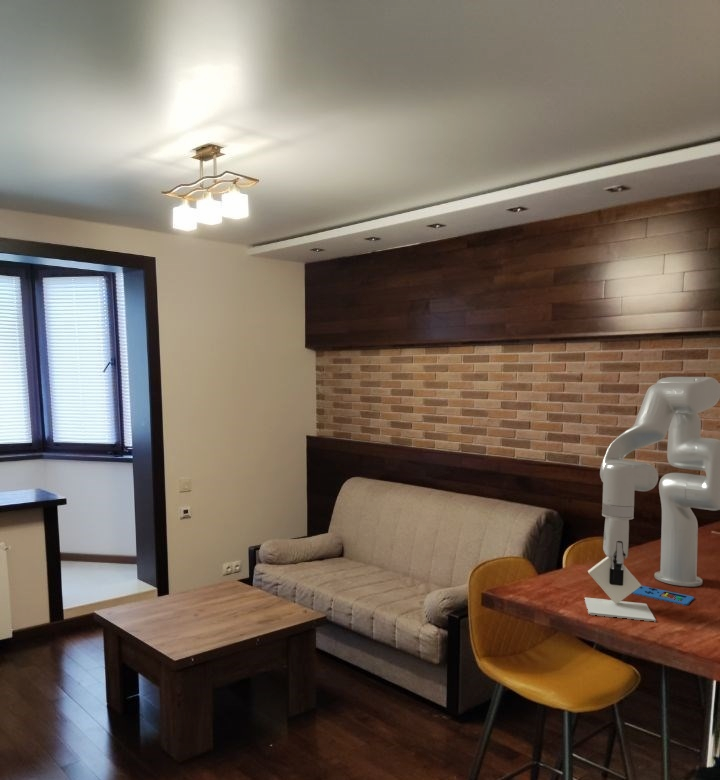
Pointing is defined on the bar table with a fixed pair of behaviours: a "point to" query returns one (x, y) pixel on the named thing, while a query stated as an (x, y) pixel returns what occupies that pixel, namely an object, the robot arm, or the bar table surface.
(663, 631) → the bar table surface
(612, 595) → the ceramic tile
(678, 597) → the handheld gaming device
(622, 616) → the rubber mat
